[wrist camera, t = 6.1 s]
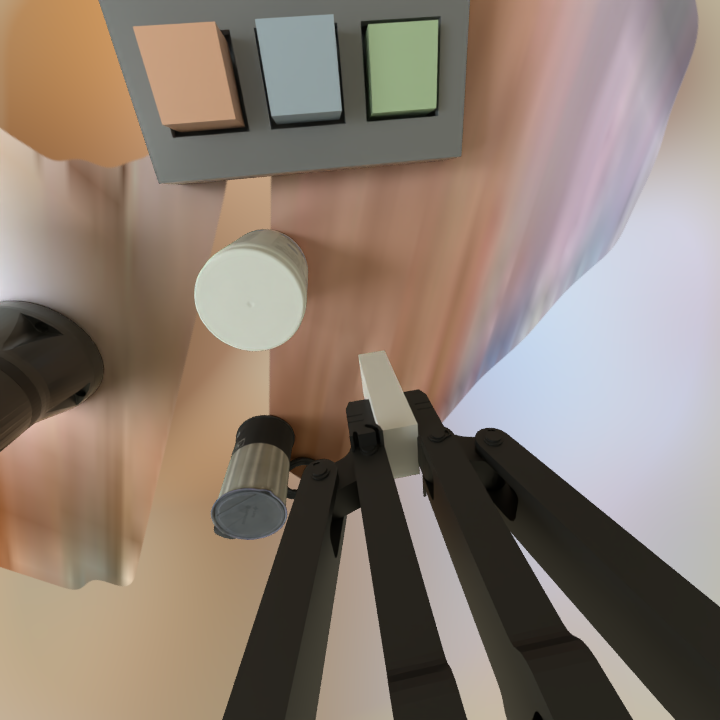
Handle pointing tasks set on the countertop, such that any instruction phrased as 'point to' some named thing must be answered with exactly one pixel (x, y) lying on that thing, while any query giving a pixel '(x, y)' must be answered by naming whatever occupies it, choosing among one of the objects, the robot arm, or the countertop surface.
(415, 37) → the green button
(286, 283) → the supplement tub
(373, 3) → the console
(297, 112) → the slate button
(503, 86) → the countertop surface
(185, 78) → the terracotta button
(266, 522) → the milk frother
